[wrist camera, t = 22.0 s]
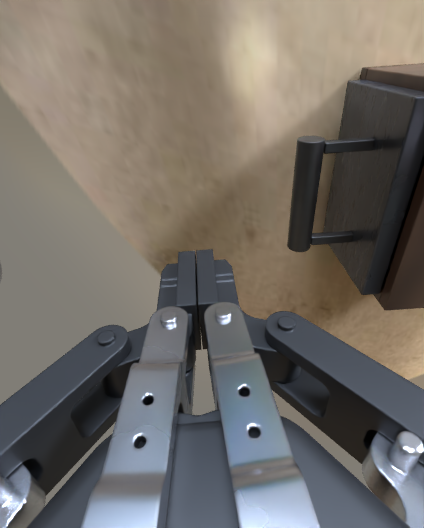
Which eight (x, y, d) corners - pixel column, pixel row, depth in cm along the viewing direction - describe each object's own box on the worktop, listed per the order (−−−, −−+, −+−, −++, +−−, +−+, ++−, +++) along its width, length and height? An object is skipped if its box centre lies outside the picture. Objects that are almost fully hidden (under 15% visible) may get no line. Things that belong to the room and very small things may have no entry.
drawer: (271, 239, 27) (295, 300, 20) (281, 85, 20) (319, 104, 14) (469, 225, 27) (555, 282, 20) (542, 67, 20) (701, 77, 14)
